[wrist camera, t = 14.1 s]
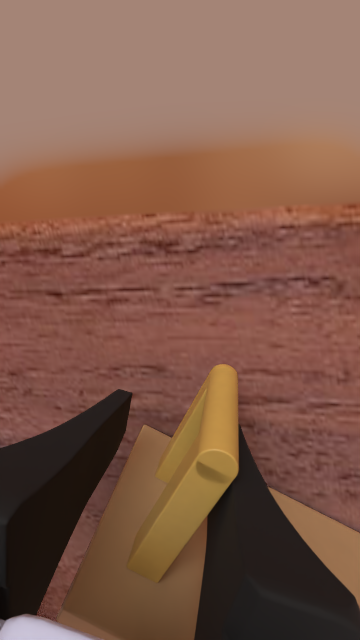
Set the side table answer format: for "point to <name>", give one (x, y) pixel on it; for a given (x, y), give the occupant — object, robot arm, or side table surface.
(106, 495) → the side table surface
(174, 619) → the cupboard door
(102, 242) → the side table surface
